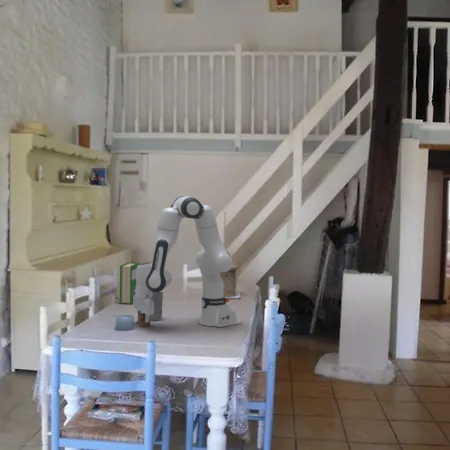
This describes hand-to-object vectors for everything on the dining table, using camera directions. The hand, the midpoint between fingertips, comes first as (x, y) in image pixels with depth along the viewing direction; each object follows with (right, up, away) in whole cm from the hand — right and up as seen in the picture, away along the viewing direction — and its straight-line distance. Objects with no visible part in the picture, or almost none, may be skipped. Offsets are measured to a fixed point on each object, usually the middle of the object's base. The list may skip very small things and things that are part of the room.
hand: (143, 320), depth 281 cm
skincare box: (+4, -2, +15) cm, 16 cm away
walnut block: (0, -3, +1) cm, 3 cm away
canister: (-8, -3, -6) cm, 11 cm away
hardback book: (-18, 0, +63) cm, 65 cm away
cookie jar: (+41, 0, +91) cm, 99 cm away
